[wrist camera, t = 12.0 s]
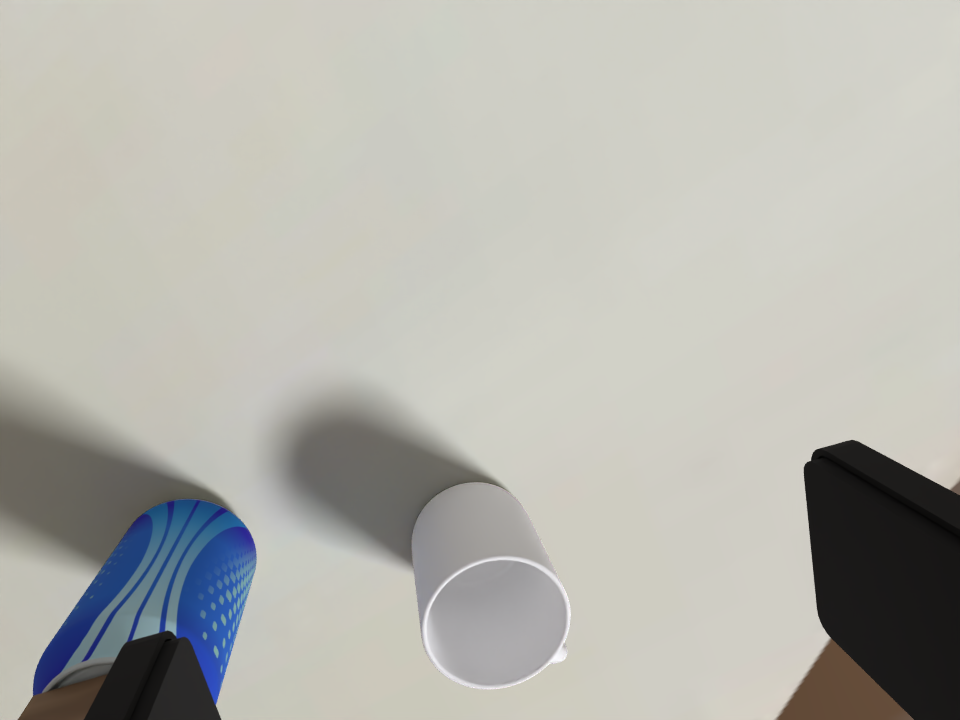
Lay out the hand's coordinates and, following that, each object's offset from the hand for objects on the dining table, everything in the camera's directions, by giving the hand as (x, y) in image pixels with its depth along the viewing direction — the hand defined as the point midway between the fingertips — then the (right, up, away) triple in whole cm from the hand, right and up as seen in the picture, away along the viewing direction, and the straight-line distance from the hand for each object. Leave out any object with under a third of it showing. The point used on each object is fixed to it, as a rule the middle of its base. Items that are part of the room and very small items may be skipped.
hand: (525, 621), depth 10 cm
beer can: (-20, -9, +37) cm, 43 cm away
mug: (0, -10, +40) cm, 42 cm away
